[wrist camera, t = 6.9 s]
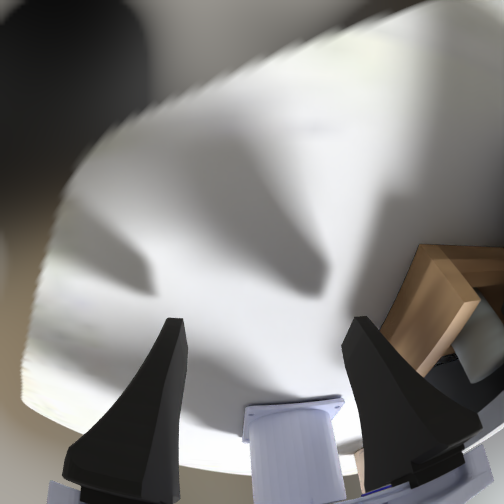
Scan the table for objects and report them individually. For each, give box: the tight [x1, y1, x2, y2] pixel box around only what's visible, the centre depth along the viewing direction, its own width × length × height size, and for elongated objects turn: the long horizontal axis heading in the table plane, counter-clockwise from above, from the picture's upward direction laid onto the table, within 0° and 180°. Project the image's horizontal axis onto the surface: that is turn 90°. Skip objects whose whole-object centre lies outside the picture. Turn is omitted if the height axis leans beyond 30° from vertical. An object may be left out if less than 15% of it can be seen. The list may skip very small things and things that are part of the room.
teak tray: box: [380, 244, 504, 383], centre depth 12 cm, size 7×16×6 cm, turn 87°
